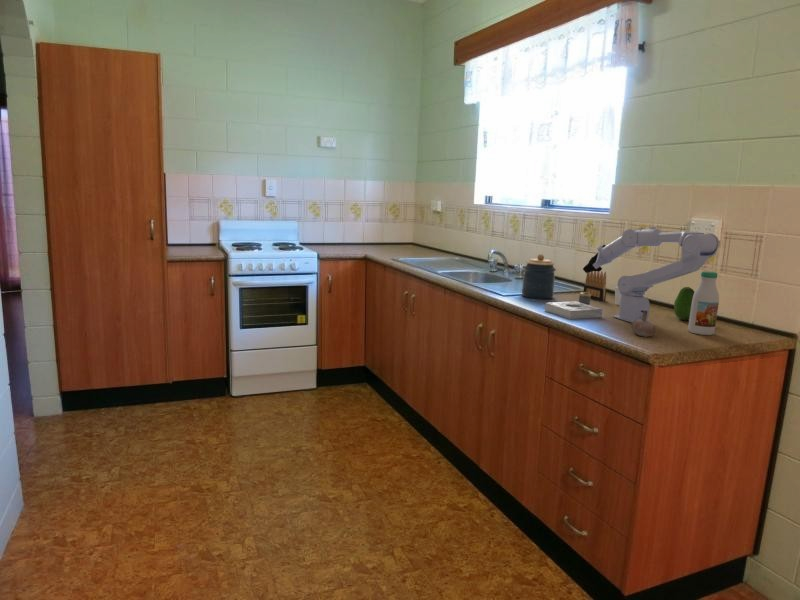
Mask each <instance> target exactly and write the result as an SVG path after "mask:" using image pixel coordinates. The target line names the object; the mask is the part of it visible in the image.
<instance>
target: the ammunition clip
mask: <svg viewBox="0 0 800 600" xmlns="http://www.w3.org/2000/svg"><path fill="white" fill-rule="evenodd" d="M582 292H587V293H591V298H590V300H591V299H592V300H596V301H600V302H606V298H607V297H606V296H607V272H606V271H604V273H603V270H601V271H599V272H598V271H592V272H589V273H586V277H585V282H584V285H583V291H582Z"/></svg>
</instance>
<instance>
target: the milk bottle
mask: <svg viewBox="0 0 800 600" xmlns="http://www.w3.org/2000/svg"><path fill="white" fill-rule="evenodd" d="M717 280H718V273H717V272H716V271H708V270H705V271H701V274H700V283H699V285H697V287H696V288H695V290H694V295H693V299H692V305H691V312H690V319H689V320H688V327H687V330H688V332H689V333H692V334H695V335H702V336H713V335H714V334H715V330H716V325H717V319H718V312H719V311H718V310H719V306H720V305H719V303H720V295H719V291H718V288H717V284H716V282H717Z"/></svg>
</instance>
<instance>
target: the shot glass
mask: <svg viewBox="0 0 800 600" xmlns="http://www.w3.org/2000/svg"><path fill="white" fill-rule="evenodd" d="M614 289H615V290H614V305H616V306H620V300H621V294H620V291H619V289H618V285H616V286H615V287H614Z"/></svg>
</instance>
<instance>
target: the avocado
mask: <svg viewBox="0 0 800 600" xmlns="http://www.w3.org/2000/svg"><path fill="white" fill-rule="evenodd" d="M694 292H695V290H694V289H693V288H691V287H689V286H684V287H682V288H681V289H680V290H679V292H678V294H677V296H676V298H675V300H674V304H673V309H674V314H675V316H676V317H677V318H678V319H679V320H682V321H689V319H690V312H691V305H692V299H693V295H694Z"/></svg>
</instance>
